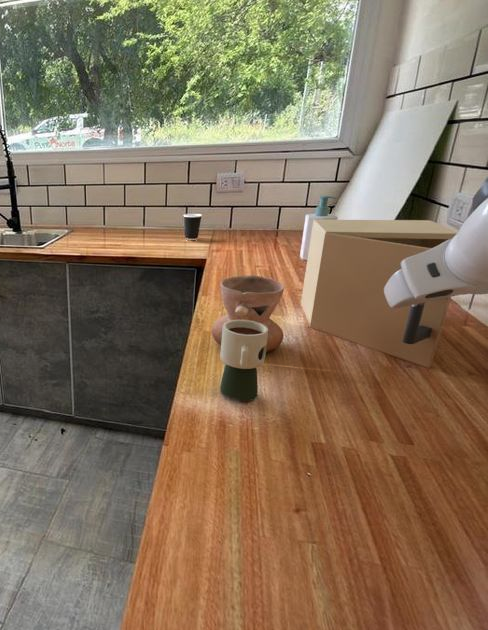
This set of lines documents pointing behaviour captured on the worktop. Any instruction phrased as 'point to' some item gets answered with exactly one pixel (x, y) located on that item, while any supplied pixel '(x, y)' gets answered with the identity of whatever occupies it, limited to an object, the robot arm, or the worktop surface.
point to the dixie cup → (192, 225)
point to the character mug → (242, 357)
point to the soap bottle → (320, 215)
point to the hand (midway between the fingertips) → (448, 294)
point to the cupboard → (382, 230)
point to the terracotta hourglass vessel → (251, 305)
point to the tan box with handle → (373, 299)
